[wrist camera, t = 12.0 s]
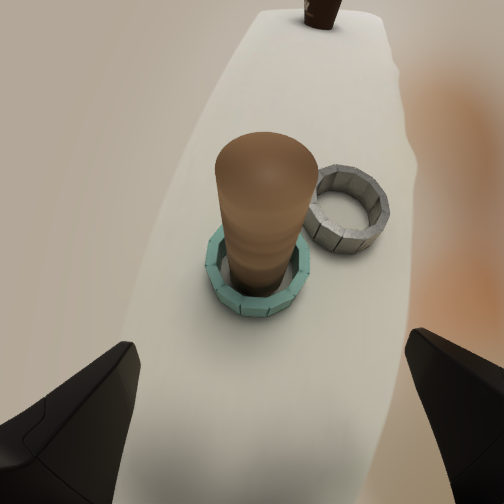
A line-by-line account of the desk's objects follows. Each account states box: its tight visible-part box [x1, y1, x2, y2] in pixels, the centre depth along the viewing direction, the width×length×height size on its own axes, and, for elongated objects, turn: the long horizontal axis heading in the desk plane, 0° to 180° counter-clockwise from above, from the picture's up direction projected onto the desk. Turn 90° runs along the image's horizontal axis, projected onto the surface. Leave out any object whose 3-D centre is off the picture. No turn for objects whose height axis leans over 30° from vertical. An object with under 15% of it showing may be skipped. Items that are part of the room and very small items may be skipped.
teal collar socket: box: [205, 224, 310, 317], centre depth 22 cm, size 8×8×3 cm
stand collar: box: [303, 164, 390, 254], centre depth 25 cm, size 8×8×3 cm
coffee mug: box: [304, 0, 342, 30], centre depth 43 cm, size 12×9×10 cm
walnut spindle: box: [215, 132, 318, 297], centre depth 18 cm, size 4×4×13 cm
